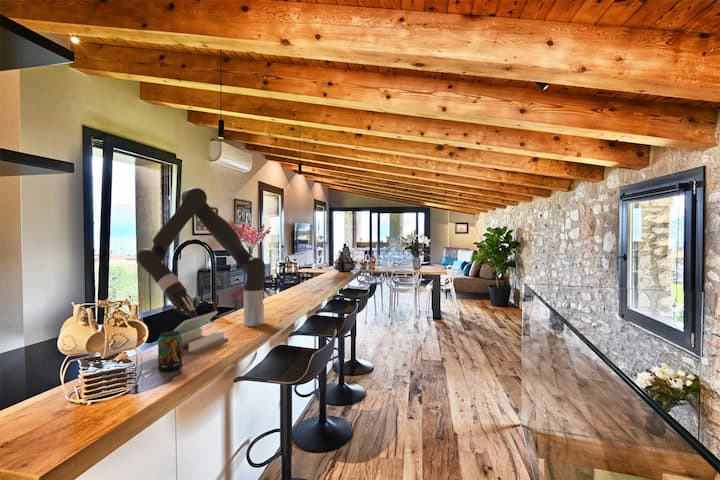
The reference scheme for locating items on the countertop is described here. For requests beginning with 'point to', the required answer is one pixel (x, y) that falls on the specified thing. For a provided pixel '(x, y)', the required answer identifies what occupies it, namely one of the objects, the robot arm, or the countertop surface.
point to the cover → (194, 323)
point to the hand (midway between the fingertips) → (196, 319)
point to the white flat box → (200, 341)
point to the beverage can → (169, 351)
